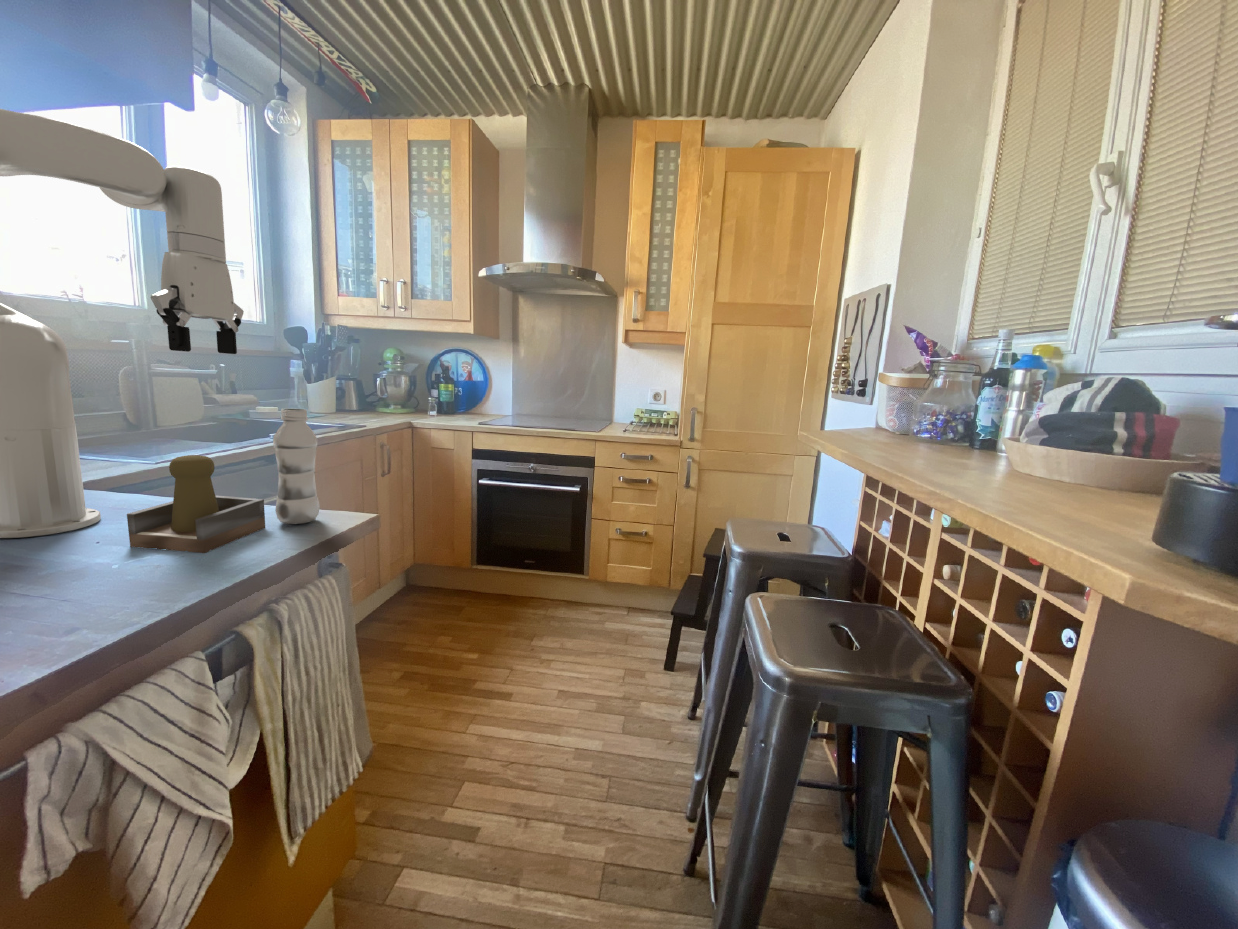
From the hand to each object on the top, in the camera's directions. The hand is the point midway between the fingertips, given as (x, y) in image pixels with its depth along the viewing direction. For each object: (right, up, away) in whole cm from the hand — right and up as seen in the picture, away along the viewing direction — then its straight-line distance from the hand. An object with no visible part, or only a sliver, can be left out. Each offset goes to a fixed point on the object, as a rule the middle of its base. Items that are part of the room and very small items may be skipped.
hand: (205, 352), depth 87 cm
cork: (+8, -30, -11) cm, 33 cm away
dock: (+8, -31, -10) cm, 34 cm away
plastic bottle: (+17, -30, 0) cm, 35 cm away
